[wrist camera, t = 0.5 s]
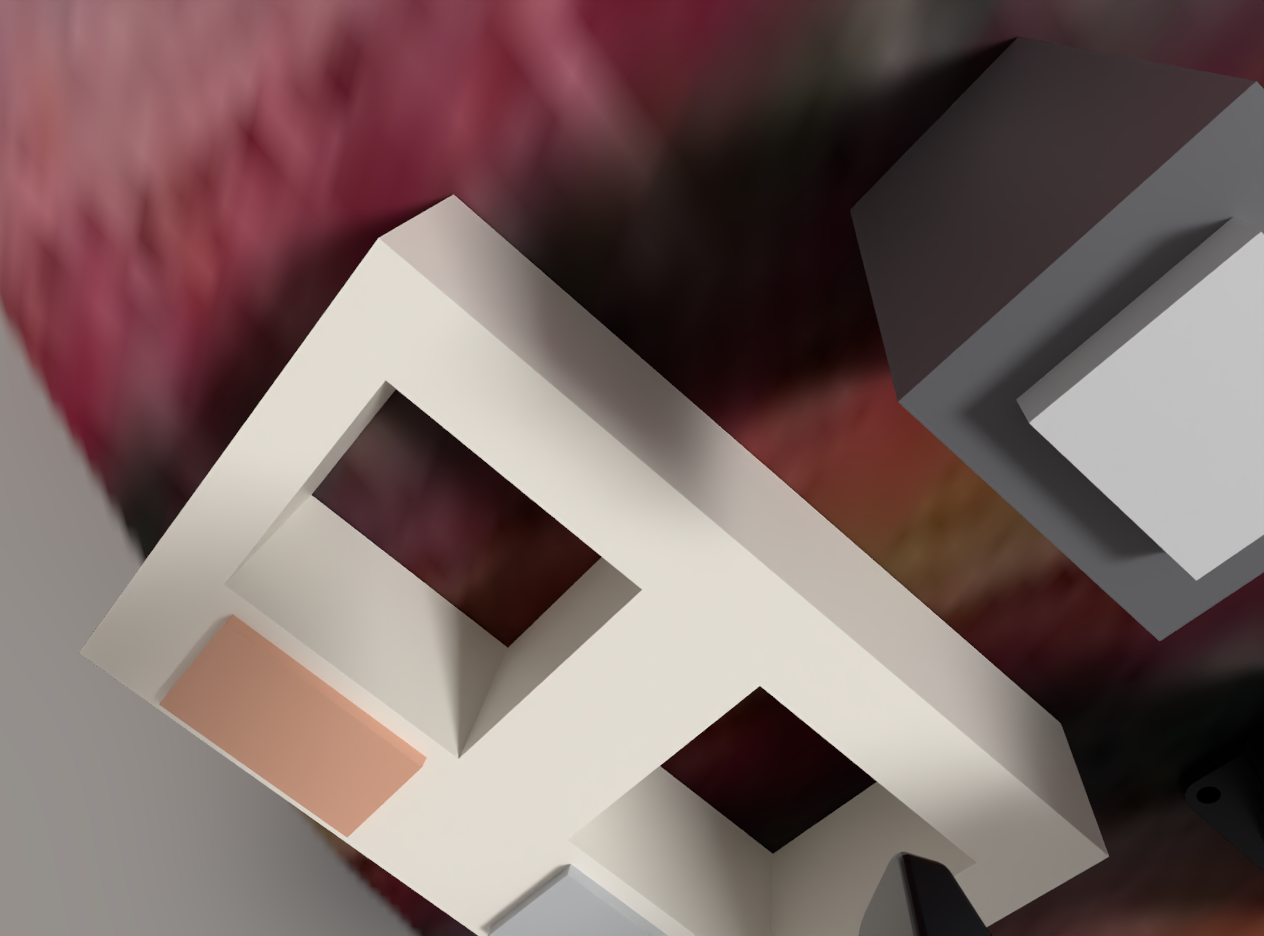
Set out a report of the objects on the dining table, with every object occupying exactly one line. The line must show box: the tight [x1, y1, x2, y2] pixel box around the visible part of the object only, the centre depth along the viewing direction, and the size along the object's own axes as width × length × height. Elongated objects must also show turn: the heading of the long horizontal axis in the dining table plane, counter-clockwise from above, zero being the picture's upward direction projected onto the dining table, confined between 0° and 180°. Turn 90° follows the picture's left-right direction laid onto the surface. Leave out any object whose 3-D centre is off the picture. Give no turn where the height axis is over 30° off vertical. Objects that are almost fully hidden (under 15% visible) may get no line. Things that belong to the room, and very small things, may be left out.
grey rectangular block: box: [850, 37, 1264, 641], centre depth 14 cm, size 4×4×11 cm
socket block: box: [79, 194, 1109, 936], centre depth 22 cm, size 18×12×4 cm, turn 49°
